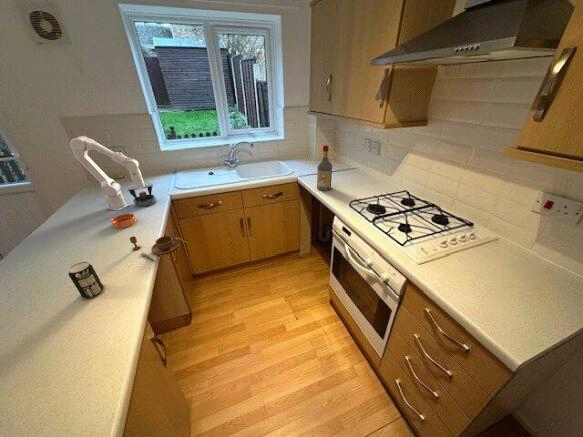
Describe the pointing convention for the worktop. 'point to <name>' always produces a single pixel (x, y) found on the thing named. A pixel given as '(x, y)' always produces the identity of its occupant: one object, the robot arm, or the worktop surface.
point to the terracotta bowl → (123, 221)
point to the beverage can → (85, 279)
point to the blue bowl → (144, 203)
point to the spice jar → (143, 196)
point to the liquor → (324, 172)
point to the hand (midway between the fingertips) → (144, 199)
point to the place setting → (161, 245)
